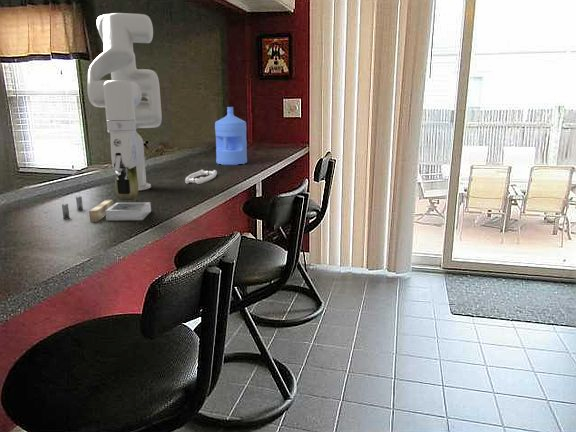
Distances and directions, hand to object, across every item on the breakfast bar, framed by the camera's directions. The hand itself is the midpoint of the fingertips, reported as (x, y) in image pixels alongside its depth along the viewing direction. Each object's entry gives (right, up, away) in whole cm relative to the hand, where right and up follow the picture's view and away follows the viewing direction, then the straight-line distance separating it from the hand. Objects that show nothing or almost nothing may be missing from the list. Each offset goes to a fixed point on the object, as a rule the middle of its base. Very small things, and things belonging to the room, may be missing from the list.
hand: (127, 191), depth 133 cm
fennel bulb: (0, -3, +1) cm, 3 cm away
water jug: (+17, +19, +104) cm, 108 cm away
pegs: (-17, -6, +4) cm, 19 cm away
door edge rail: (-8, -7, +3) cm, 11 cm away
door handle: (+10, +8, +61) cm, 63 cm away
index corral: (0, -7, +2) cm, 7 cm away
